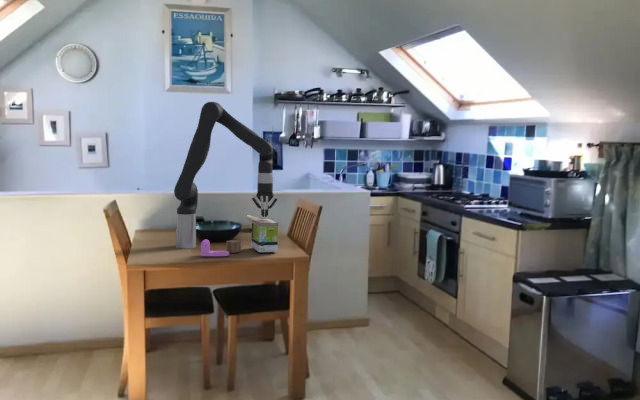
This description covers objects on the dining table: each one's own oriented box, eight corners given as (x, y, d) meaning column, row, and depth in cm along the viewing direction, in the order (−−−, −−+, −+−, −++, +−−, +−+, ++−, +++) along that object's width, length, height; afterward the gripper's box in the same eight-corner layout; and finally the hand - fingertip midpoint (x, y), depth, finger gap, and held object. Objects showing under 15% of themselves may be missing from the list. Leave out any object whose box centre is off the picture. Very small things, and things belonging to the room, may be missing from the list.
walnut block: (234, 249, 268) (226, 251, 264) (234, 240, 267) (226, 241, 264) (240, 251, 264) (231, 252, 261) (240, 241, 264) (232, 242, 260)
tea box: (278, 251, 265) (278, 222, 263) (258, 253, 261) (258, 222, 260) (269, 246, 279) (270, 218, 277) (250, 247, 275) (251, 218, 274)
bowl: (270, 233, 320) (270, 216, 319) (246, 233, 318) (246, 216, 317) (268, 229, 335) (269, 213, 334) (246, 229, 333) (246, 213, 332)
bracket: (200, 256, 251) (200, 241, 251) (201, 253, 257) (201, 239, 256) (229, 256, 253) (229, 241, 252) (229, 253, 258) (229, 239, 258)
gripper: (250, 182, 263) (250, 217, 265) (277, 182, 263) (277, 218, 264) (252, 181, 271) (252, 215, 272) (279, 181, 270) (279, 216, 272)
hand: (264, 216), depth 268 cm, fingers closed
